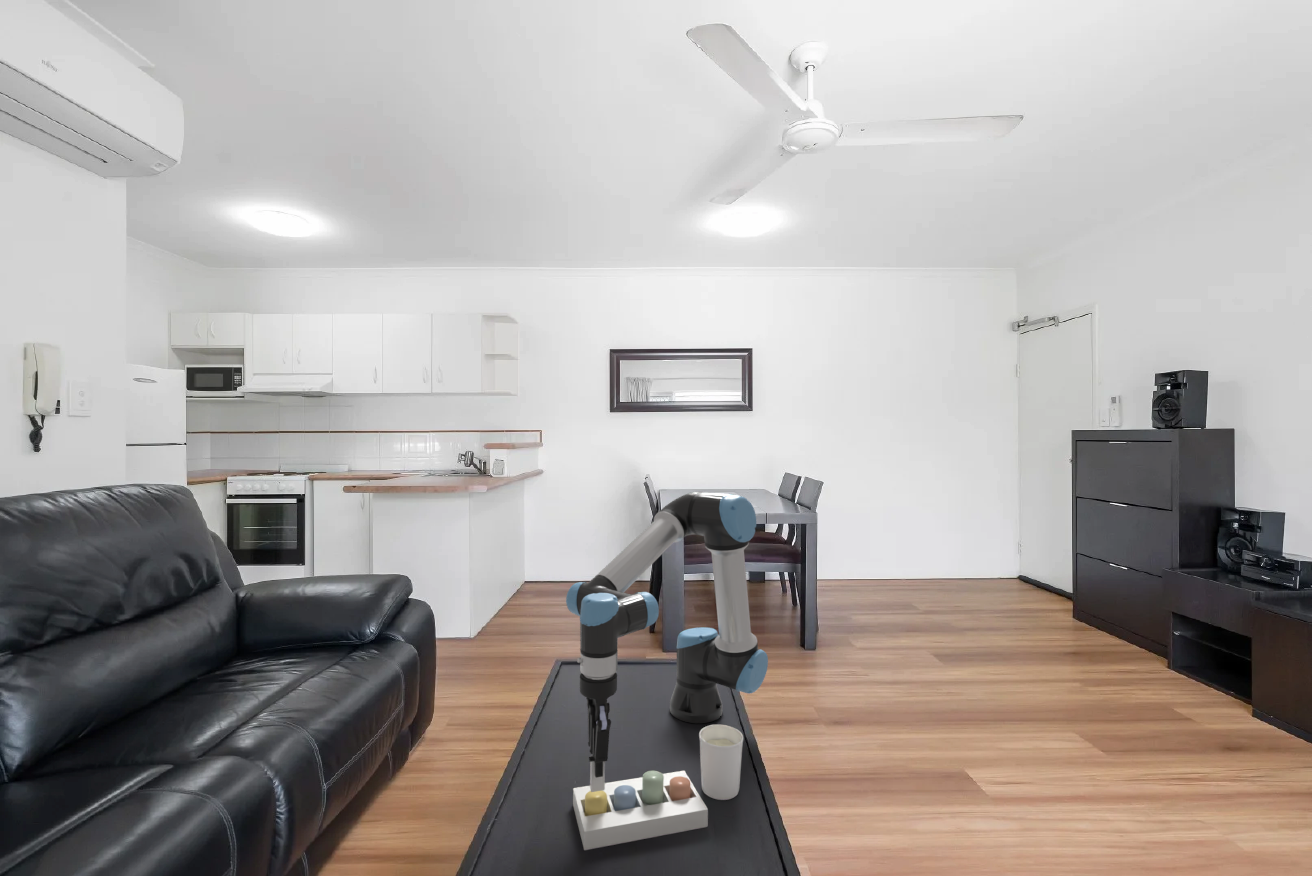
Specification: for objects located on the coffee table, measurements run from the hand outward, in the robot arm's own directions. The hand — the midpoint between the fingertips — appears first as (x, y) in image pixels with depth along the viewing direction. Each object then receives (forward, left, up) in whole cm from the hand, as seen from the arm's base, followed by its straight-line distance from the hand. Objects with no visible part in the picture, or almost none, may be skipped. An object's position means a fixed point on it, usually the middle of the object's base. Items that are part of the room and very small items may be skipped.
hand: (597, 788), depth 115 cm
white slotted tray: (-9, 0, -7) cm, 11 cm away
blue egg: (-6, 0, -6) cm, 8 cm away
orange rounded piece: (-18, 0, -6) cm, 19 cm away
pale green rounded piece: (-12, 0, -4) cm, 12 cm away
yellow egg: (0, 0, -6) cm, 6 cm away
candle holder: (-29, -4, -7) cm, 30 cm away
